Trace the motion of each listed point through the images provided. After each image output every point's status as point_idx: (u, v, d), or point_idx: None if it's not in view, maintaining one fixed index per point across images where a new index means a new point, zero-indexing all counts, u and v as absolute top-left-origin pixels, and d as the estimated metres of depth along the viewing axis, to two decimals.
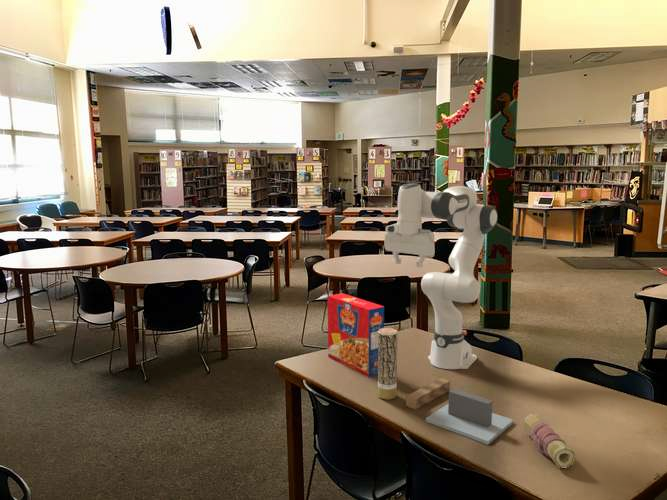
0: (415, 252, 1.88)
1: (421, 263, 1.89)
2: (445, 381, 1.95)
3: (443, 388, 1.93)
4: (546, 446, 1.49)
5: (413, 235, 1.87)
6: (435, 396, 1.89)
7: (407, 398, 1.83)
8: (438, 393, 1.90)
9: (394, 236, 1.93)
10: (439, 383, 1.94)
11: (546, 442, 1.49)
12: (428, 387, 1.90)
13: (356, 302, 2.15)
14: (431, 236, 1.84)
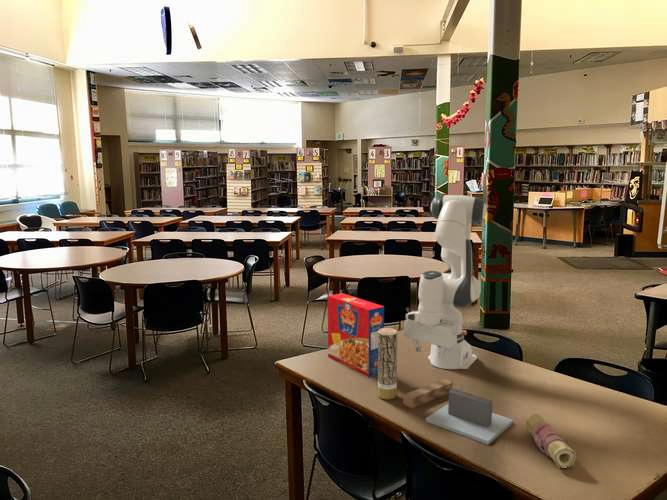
0: (437, 343, 1.82)
1: (442, 354, 1.83)
2: (447, 382, 1.94)
3: (444, 389, 1.92)
4: (547, 446, 1.49)
5: (435, 326, 1.82)
6: (435, 396, 1.89)
7: (404, 397, 1.84)
8: (438, 394, 1.90)
9: (414, 324, 1.87)
10: (441, 383, 1.93)
11: (547, 442, 1.49)
12: (428, 387, 1.90)
13: (356, 302, 2.15)
14: (454, 328, 1.79)
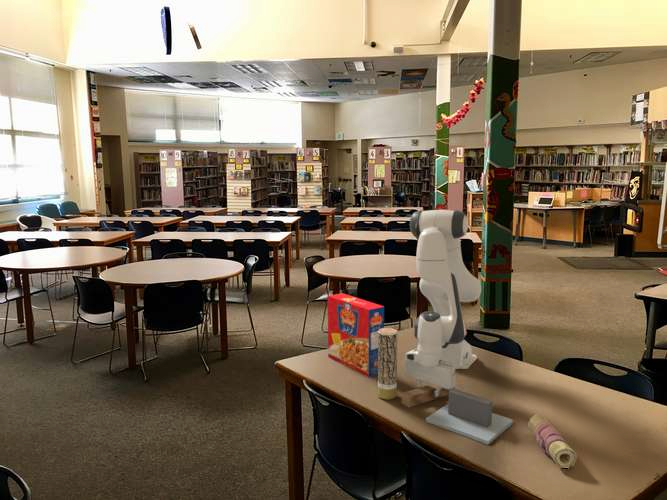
0: (436, 383, 1.85)
1: (437, 392, 1.87)
2: None
3: (445, 389, 1.91)
4: (548, 446, 1.49)
5: (434, 366, 1.84)
6: None
7: (402, 395, 1.85)
8: None
9: (414, 364, 1.90)
10: None
11: (548, 442, 1.49)
12: (428, 387, 1.90)
13: (356, 302, 2.15)
14: (452, 370, 1.81)
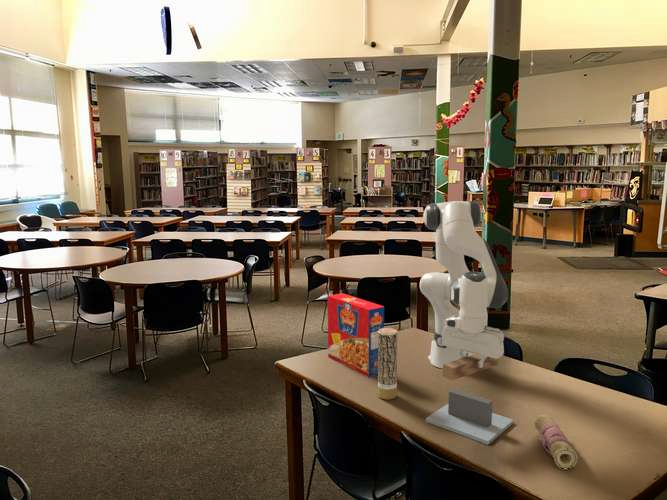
0: (480, 352, 1.63)
1: (482, 363, 1.66)
2: None
3: (489, 360, 1.70)
4: (550, 446, 1.49)
5: (478, 333, 1.63)
6: (478, 368, 1.68)
7: (444, 366, 1.63)
8: None
9: (454, 331, 1.69)
10: None
11: (550, 442, 1.49)
12: (471, 357, 1.69)
13: (356, 302, 2.15)
14: (500, 336, 1.60)
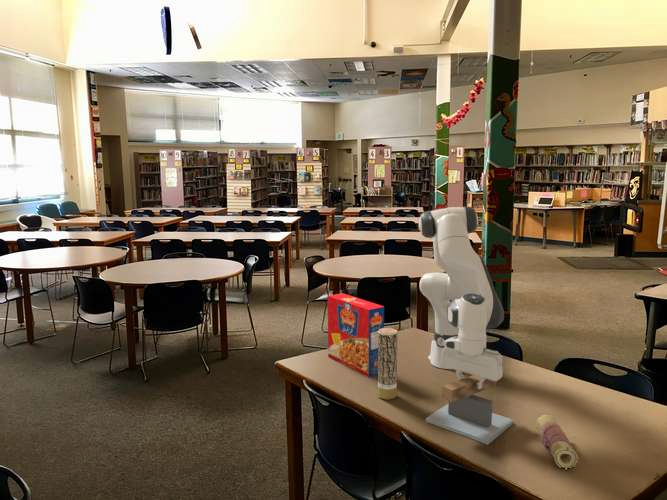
0: (479, 374, 1.65)
1: (481, 385, 1.67)
2: None
3: (487, 381, 1.71)
4: (550, 446, 1.49)
5: (477, 355, 1.64)
6: (477, 389, 1.69)
7: (443, 388, 1.64)
8: None
9: (454, 352, 1.70)
10: None
11: (551, 442, 1.49)
12: (470, 379, 1.70)
13: (356, 302, 2.15)
14: (499, 359, 1.61)
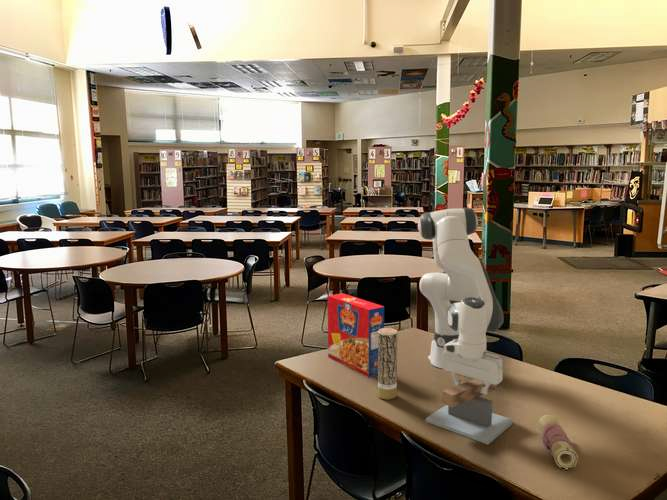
0: (480, 378, 1.65)
1: (486, 390, 1.66)
2: None
3: None
4: (551, 446, 1.49)
5: (477, 359, 1.64)
6: (477, 394, 1.69)
7: (443, 393, 1.64)
8: None
9: (454, 356, 1.70)
10: None
11: (551, 442, 1.49)
12: (470, 383, 1.70)
13: (356, 302, 2.15)
14: (499, 363, 1.61)
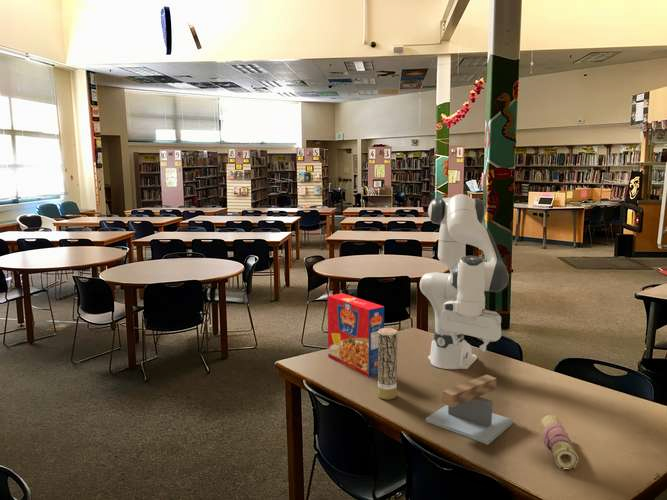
0: (478, 335, 1.65)
1: (485, 347, 1.67)
2: (491, 378, 1.74)
3: (487, 385, 1.72)
4: (551, 446, 1.49)
5: (476, 316, 1.65)
6: (477, 394, 1.69)
7: (443, 393, 1.64)
8: (481, 391, 1.70)
9: (452, 315, 1.70)
10: (484, 379, 1.73)
11: (552, 442, 1.49)
12: (470, 383, 1.70)
13: (356, 302, 2.15)
14: (498, 319, 1.62)
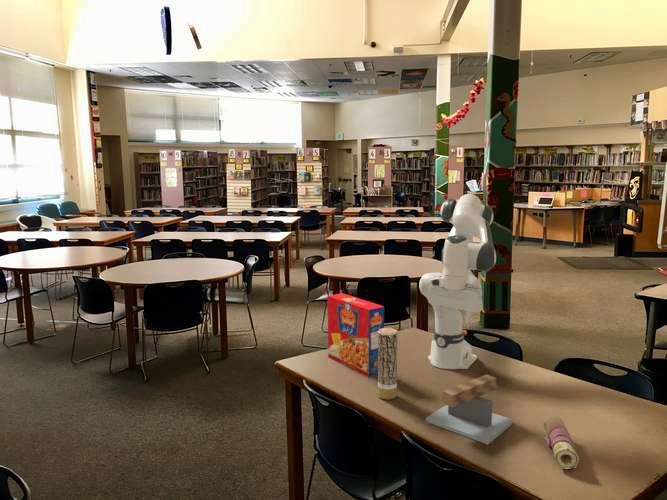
0: (462, 308, 1.81)
1: (468, 319, 1.82)
2: (491, 378, 1.74)
3: (487, 385, 1.72)
4: (553, 446, 1.49)
5: (460, 290, 1.80)
6: (477, 394, 1.69)
7: (443, 393, 1.64)
8: (481, 391, 1.70)
9: (439, 290, 1.86)
10: (484, 379, 1.73)
11: (553, 442, 1.49)
12: (470, 383, 1.70)
13: (356, 302, 2.15)
14: (479, 292, 1.77)
